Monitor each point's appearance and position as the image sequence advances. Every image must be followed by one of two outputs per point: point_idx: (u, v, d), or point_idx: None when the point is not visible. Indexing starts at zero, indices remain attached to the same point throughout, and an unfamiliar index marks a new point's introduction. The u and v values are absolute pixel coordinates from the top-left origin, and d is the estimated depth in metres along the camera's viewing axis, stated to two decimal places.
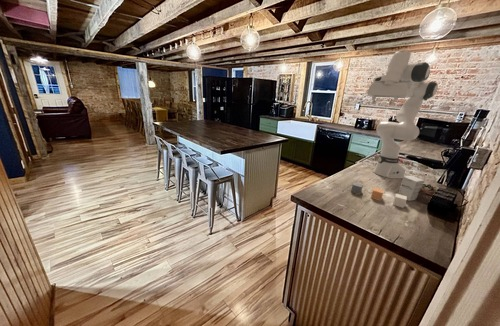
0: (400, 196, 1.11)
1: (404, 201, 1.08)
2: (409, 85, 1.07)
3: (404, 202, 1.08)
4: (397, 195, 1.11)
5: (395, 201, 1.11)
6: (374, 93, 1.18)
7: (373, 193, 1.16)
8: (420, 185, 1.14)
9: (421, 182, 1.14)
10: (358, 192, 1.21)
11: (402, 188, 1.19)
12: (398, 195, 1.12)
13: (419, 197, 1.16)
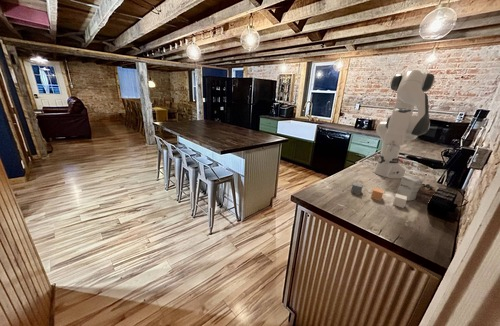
0: (400, 196, 1.11)
1: (404, 201, 1.08)
2: (390, 148, 1.00)
3: (404, 202, 1.08)
4: (397, 195, 1.11)
5: (395, 201, 1.11)
6: None
7: (373, 193, 1.16)
8: (418, 185, 1.15)
9: (420, 182, 1.14)
10: (358, 192, 1.21)
11: (401, 188, 1.19)
12: (398, 195, 1.12)
13: (418, 197, 1.17)
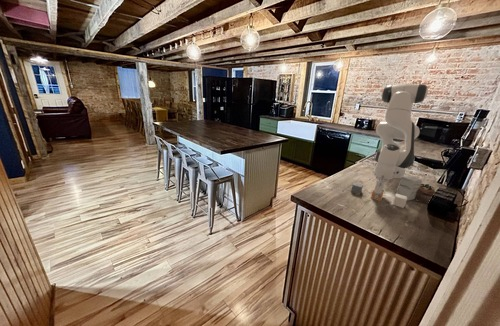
0: (400, 196, 1.11)
1: (404, 201, 1.08)
2: (379, 183, 1.07)
3: (404, 202, 1.08)
4: (397, 195, 1.11)
5: (395, 201, 1.11)
6: None
7: (373, 193, 1.16)
8: (417, 185, 1.15)
9: (419, 182, 1.14)
10: (358, 192, 1.21)
11: (400, 188, 1.20)
12: (398, 195, 1.12)
13: (417, 197, 1.17)
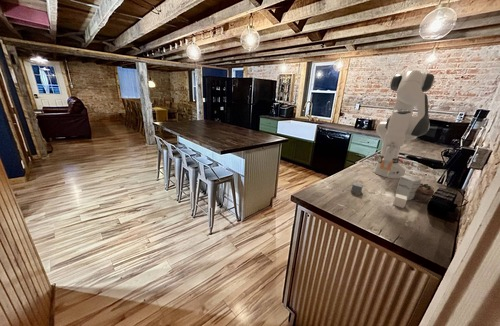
0: (400, 196, 1.11)
1: (404, 201, 1.08)
2: (389, 150, 1.00)
3: (404, 202, 1.08)
4: (397, 195, 1.11)
5: (395, 201, 1.11)
6: None
7: (382, 163, 1.10)
8: (416, 185, 1.15)
9: (418, 181, 1.14)
10: (358, 192, 1.21)
11: (399, 188, 1.20)
12: (398, 195, 1.12)
13: (416, 196, 1.17)
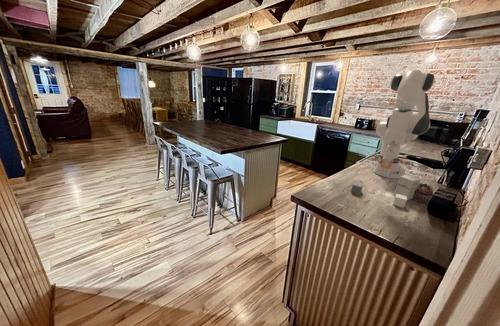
0: (400, 196, 1.11)
1: (404, 201, 1.08)
2: (390, 148, 1.00)
3: (404, 202, 1.08)
4: (397, 195, 1.11)
5: (395, 201, 1.11)
6: None
7: (382, 161, 1.10)
8: (416, 185, 1.15)
9: (417, 181, 1.14)
10: (358, 192, 1.21)
11: (398, 188, 1.20)
12: (398, 195, 1.12)
13: (415, 196, 1.17)
